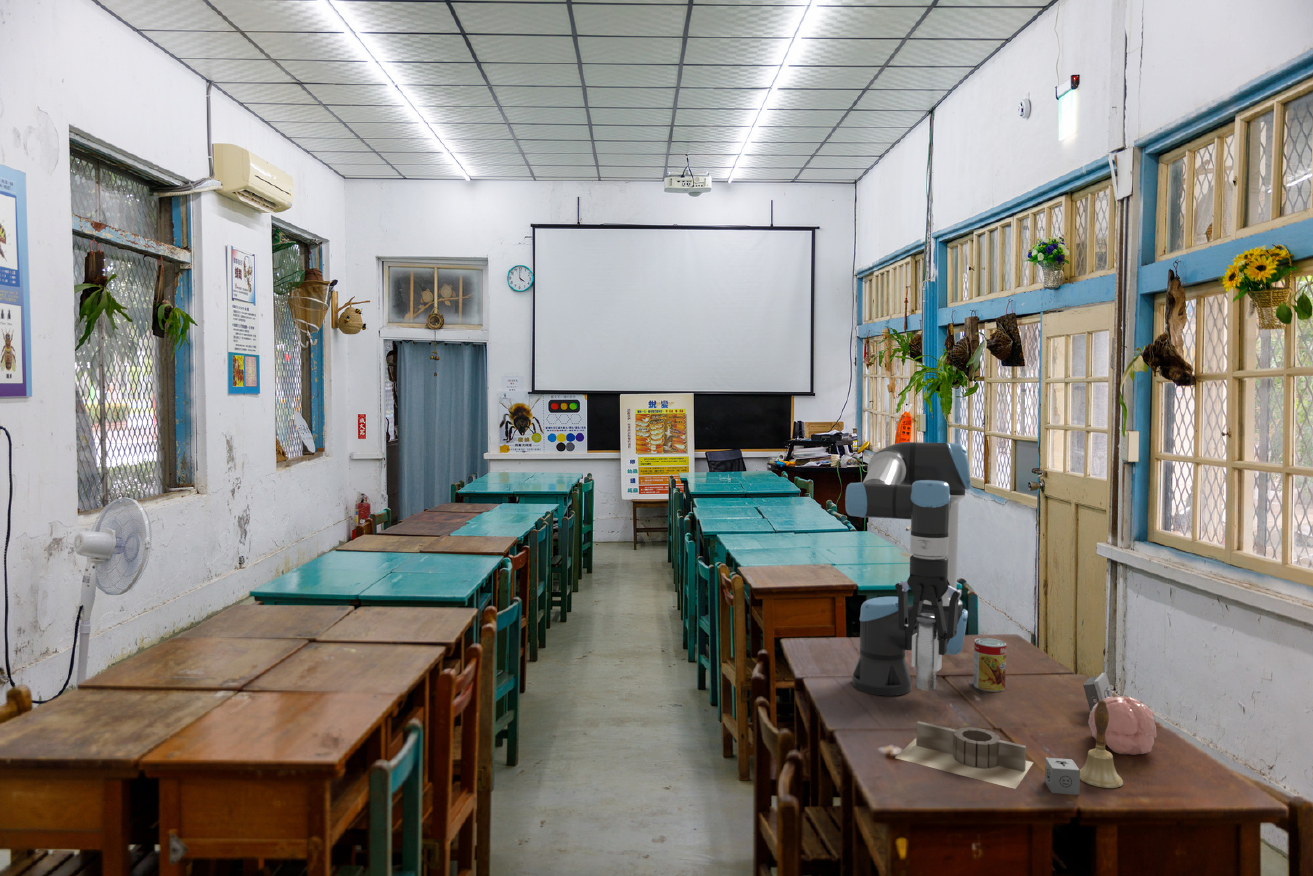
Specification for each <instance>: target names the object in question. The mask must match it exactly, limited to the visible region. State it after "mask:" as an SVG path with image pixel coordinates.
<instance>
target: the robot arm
mask: <svg viewBox="0 0 1313 876" xmlns="http://www.w3.org/2000/svg"><path fill="white" fill-rule="evenodd" d="M968 456H969V455H968V449H967V447H966V446H965V445H964V444H963V443H962V444H961V443H952V442H922V441H921V442H919V441H918V442H913V441H905V442H903V441H902V442H898V443H895V444H891V445H889V446H886V447H883V448H882V449H880V450H879V451H877V452H876V453H874V454H873V455H872V457H871V458H870V459H869V461H868V463H867V469H866V470H867V474H866V476H865V478H864V479H863V481H862V482H859V481H858V482H850V483H849V484H847V486H846V489H845V498H844V499H845V500H844V501H845V504H844V505H845V512H846V513H847V515H848V516H851V517H859V518H862V519H863V518H877V519H898V520H910V541H909V542H910V543H909V544H910V548H909V550H910V552H909V553H911V554H912V555H911V556H910V557H909V576H908V578H907V580H906V581H899V582H897V583H895V585H894V587H895V590H896V593H897V596H880V597H874V598H870V599H867V600H865V601H863V603H862V604H861V606H860V615H859V621H860V622H859V624H860V625H859V656H858V659H857V661H856V665H855V667H854V671H853V672H852V677H851V681H852V682H851V684H852V686H853V687H854V688H855V689H856V690H859V691H860V692H863V693H866V694H871V695H877V696H889V697H890V696H891V697H892V696H901V695H905V694H907V693H910V692H911V691H912V678H911V675H910V674H911V673H910V672H909V668H908V665H907V662H906V651H911V668H912V667H913V668H916V660H917V621H915V616H917V615H919V614H920V613H931V614H934V616H935V619H936V628H937V638H936V639H935V640H934V671H936V672H939V671H940V670H941V669H942V664H943V662H942V661H943V660H942V659H943V656H944V655H953V656H954V655H958V654H960V653H961V652H962V650H963V647H964V646H963V645H964V640H965V634H966V629H967V622H968V618H969V617H968V616H969V612H968V610H967V609H965V608H963V601H962V600H961V598H962V595H963V590H962V589H960V588H959V589H957V582H958V581H957V579H958V578H957V577H958V576H957V575H958V543H959V542H958V539H959V536H958V535H959V503H960V502H961V500H963V499H964V498H965V497H966V491H968V490H970V489H972V482H971V481H972V480H971V474H970V471H971V470H970V463H969V457H968ZM909 589H910V590H911V592H912V594H913V595H914V596H913V600H912V605H911V604H909V603H908V601H909V595H908V591H909Z"/></svg>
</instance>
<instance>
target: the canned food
mask: <svg viewBox="0 0 1313 876" xmlns="http://www.w3.org/2000/svg"><path fill="white" fill-rule="evenodd" d="M973 642H974V645H973V646H974V648H973V650H974V651H973V678H972V679H973V686H974V688H976V689H978V690H981V691H985V692H994V693H996V692H997V693H999V692H1003V691H1004V690H1006V676H1007V674H1006V672H1007V670H1006V669H1007V642H1005V641H1004V640H1002V639H999V638H991V637H979V638H975V639H974V641H973Z"/></svg>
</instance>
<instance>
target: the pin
mask: <svg viewBox="0 0 1313 876" xmlns="http://www.w3.org/2000/svg"><path fill="white" fill-rule="evenodd" d="M915 621H917V660H916V667H915V670H916V671H915V675H916V676H915V687H916V688H917V689H919V690H922V691H934V690H935V691H936V689H937V671H934V640H935V639H936V638H937V628H936V619H935V616H934V614H931V613H920V614H919V615H917V616H915Z"/></svg>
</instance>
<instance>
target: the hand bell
mask: <svg viewBox="0 0 1313 876" xmlns="http://www.w3.org/2000/svg"><path fill="white" fill-rule="evenodd" d="M1094 719H1095V725H1096V729H1097V737H1096V739H1095V748H1092V749H1091V748H1090V749H1089V750H1088V752H1087V757H1086V761H1085V764H1084V765H1083V767H1082V768H1081V769H1080V781H1081V782H1083V783H1085V784H1087V785H1091V786H1094V787H1096V788H1097V787H1099V788H1103V789H1104V788H1105V789H1116V788H1119V787H1122V786H1123V785H1124V780H1123V779H1122V777H1121V776H1120V775H1119V774H1118V773H1117V770H1116V768H1115V765H1114V764H1115V763H1114V756H1113V754H1112V753H1111V752H1110V751H1108V750H1106V745H1105V732H1106V729H1107V726H1108V722H1109V713H1108V709H1107V706H1106V702H1105V701H1103V700H1099V701H1098V705H1097V707H1096V709H1095V715H1094Z"/></svg>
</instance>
